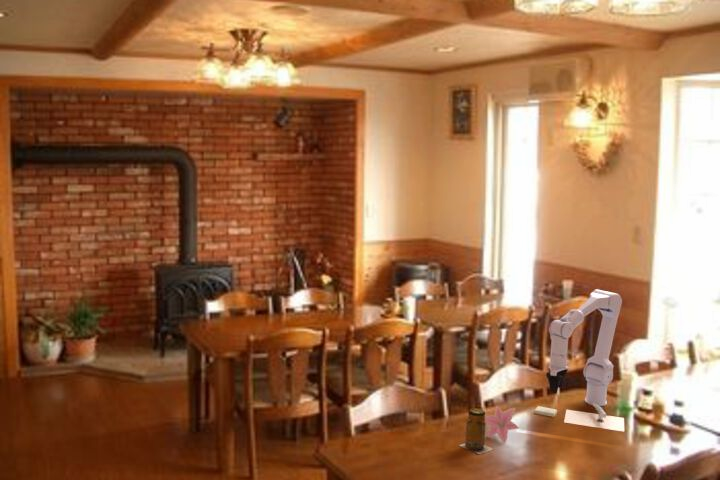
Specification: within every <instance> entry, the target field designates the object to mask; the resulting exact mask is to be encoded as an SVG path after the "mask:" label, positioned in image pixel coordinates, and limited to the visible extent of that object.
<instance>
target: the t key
mask: <svg viewBox="0 0 720 480" xmlns="http://www.w3.org/2000/svg"><path fill="white" fill-rule="evenodd" d="M592 406H593V407H594V408H595V410H596V411H597V414H598V421H603V417H604V418H606V415H607V413H606V412H605V411H604V409H603V407H602V406H600V405H599V404H598V403H597V402H593V405H592Z"/></svg>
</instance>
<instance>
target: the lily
mask: <svg viewBox="0 0 720 480" xmlns="http://www.w3.org/2000/svg"><path fill="white" fill-rule="evenodd" d="M515 412H516V408H515V407H511V408H508V409H506V410H504V411H503V410H502V409H501V408H500V406H498V405H496V406H495V409H494V414H489V415H485V420H486V425H487V426H489V427H490V428H489V430H488V433H487V434H486V435H487V437H488V438H490V437H493V436H495V435H496V434H497V436H498V438H499V439H500V440H501V442H503V443H506V442H507V439H508V433H509V431H512V430H518V429H519V428H520V427H519V426H518V425H517V424H516V423H515V422H513V421H512V419H513V417H514V414H515Z"/></svg>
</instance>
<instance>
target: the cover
mask: <svg viewBox="0 0 720 480" xmlns="http://www.w3.org/2000/svg"><path fill="white" fill-rule="evenodd" d="M534 414H537V415H541V416H546V417H547V416H548V417H552V418H555V416H556V415H557V414H558V409H555V408H551V407H544V406H539V405H537V407H536V408H535V409H534Z"/></svg>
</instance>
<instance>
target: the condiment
mask: <svg viewBox="0 0 720 480" xmlns="http://www.w3.org/2000/svg"><path fill="white" fill-rule="evenodd" d="M467 414H468V415H467V419H466V424H465V425H466V426H465V439H464V443H462V444H459V445H458V446H460V447H461V448H464V449H466V450H469V451H471V452H473V453H474V454H475V453H476V454H478V455H481V454H484V453H488V452H489V451H490V452H491V451H493V450H494V448H492V447H490V446H488V445H485V441H486V440H485V439H486V437H485V436H486V425H487V424H486V420H485V416H486V412H485V410H483V409H481V408H470V409H468V413H467Z"/></svg>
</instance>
